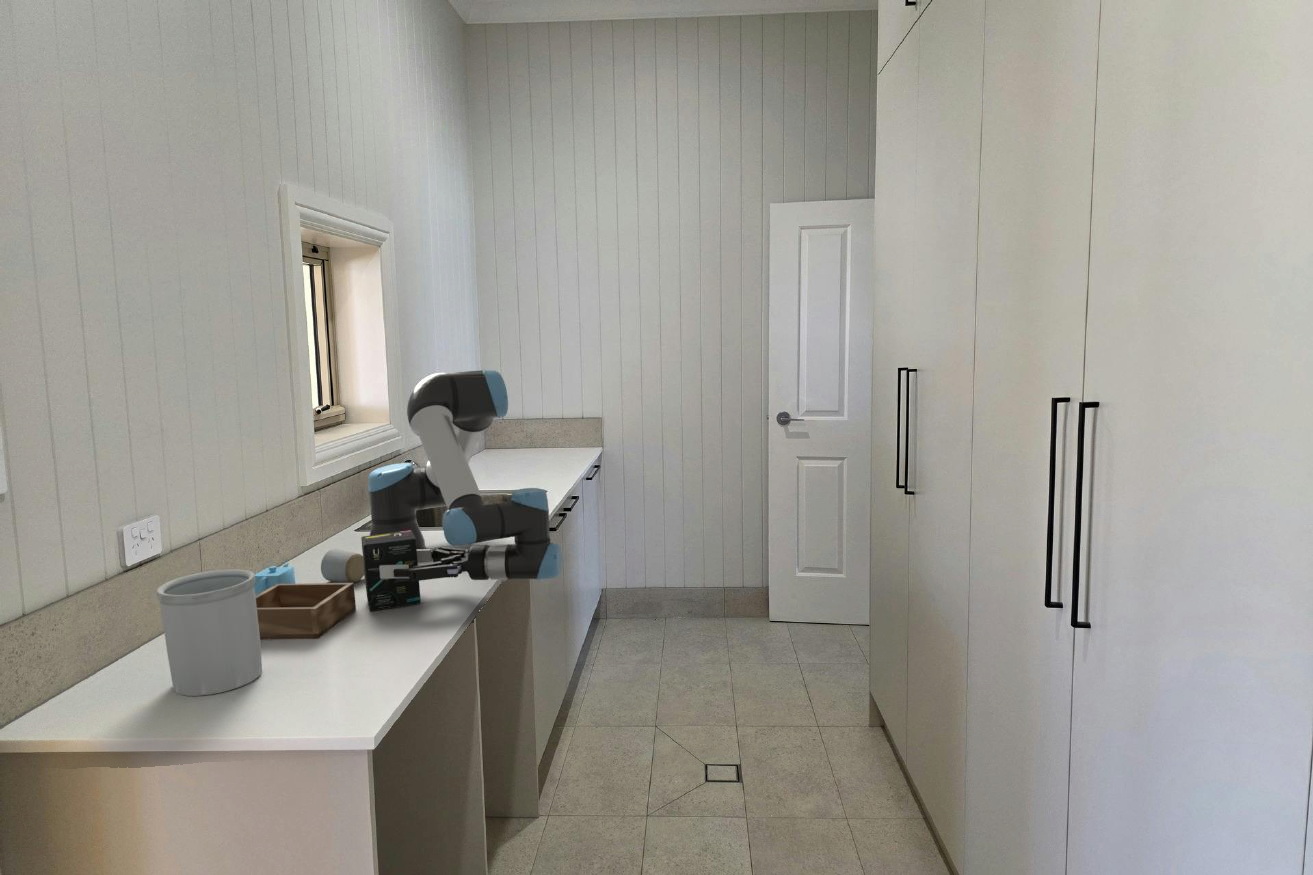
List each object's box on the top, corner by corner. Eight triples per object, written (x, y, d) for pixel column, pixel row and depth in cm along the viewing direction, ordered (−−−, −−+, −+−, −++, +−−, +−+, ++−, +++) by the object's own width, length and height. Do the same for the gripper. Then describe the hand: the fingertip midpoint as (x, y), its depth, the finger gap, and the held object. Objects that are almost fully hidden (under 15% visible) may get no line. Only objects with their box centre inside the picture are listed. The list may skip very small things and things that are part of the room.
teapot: (278, 590, 199) (275, 558, 198) (303, 589, 199) (300, 558, 198) (250, 606, 187) (247, 573, 186) (277, 606, 187) (274, 572, 186)
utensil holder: (162, 705, 137) (150, 599, 134) (173, 673, 150) (162, 576, 148) (263, 687, 142) (253, 585, 140) (265, 657, 156) (256, 564, 154)
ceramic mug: (348, 587, 199) (346, 554, 198) (321, 584, 202) (318, 552, 201) (378, 575, 209) (376, 544, 208) (352, 573, 212) (350, 542, 211)
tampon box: (417, 592, 193) (412, 529, 191) (421, 604, 184) (416, 537, 182) (366, 599, 189) (360, 535, 187) (368, 611, 180) (362, 544, 178)
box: (279, 610, 183) (276, 583, 182) (356, 610, 182) (353, 582, 181) (234, 639, 166) (231, 609, 165) (318, 638, 165) (315, 608, 164)
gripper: (474, 596, 172) (370, 597, 174) (504, 563, 196) (413, 565, 198) (471, 560, 171) (367, 561, 173) (502, 531, 195) (411, 533, 197)
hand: (391, 563), depth 186 cm, fingers open, 12 cm apart
